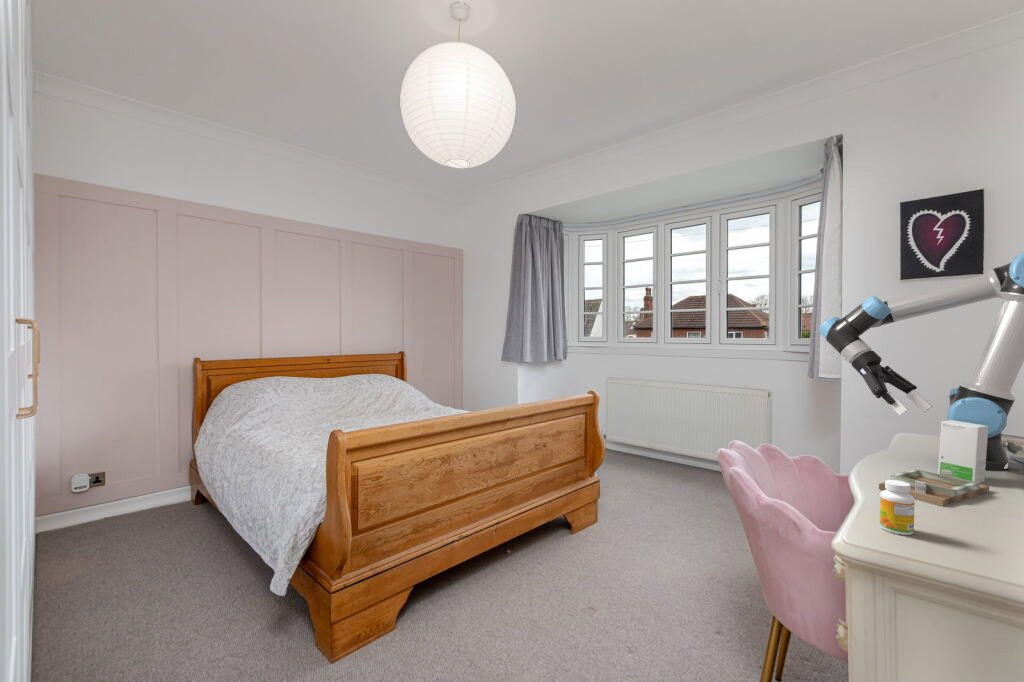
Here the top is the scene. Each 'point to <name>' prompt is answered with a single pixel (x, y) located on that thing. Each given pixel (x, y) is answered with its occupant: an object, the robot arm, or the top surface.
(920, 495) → the board
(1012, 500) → the top surface
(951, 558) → the top surface
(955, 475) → the skincare box
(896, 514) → the supplement bottle
